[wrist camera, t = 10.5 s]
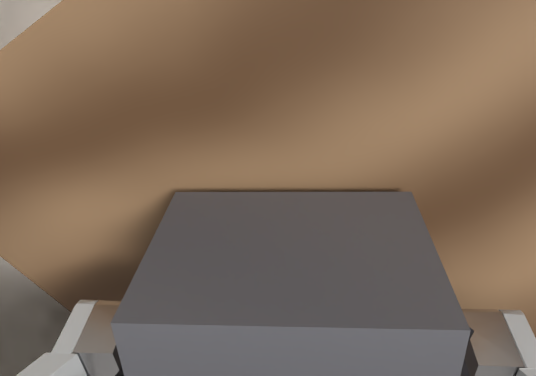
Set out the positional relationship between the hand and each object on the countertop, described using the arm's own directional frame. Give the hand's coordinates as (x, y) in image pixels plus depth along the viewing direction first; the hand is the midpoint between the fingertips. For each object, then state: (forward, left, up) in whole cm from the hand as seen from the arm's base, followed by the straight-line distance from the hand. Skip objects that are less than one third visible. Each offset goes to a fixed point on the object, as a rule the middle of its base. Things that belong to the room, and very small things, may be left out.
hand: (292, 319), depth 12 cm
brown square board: (0, 0, -4) cm, 4 cm away
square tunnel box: (+1, 0, -2) cm, 2 cm away
